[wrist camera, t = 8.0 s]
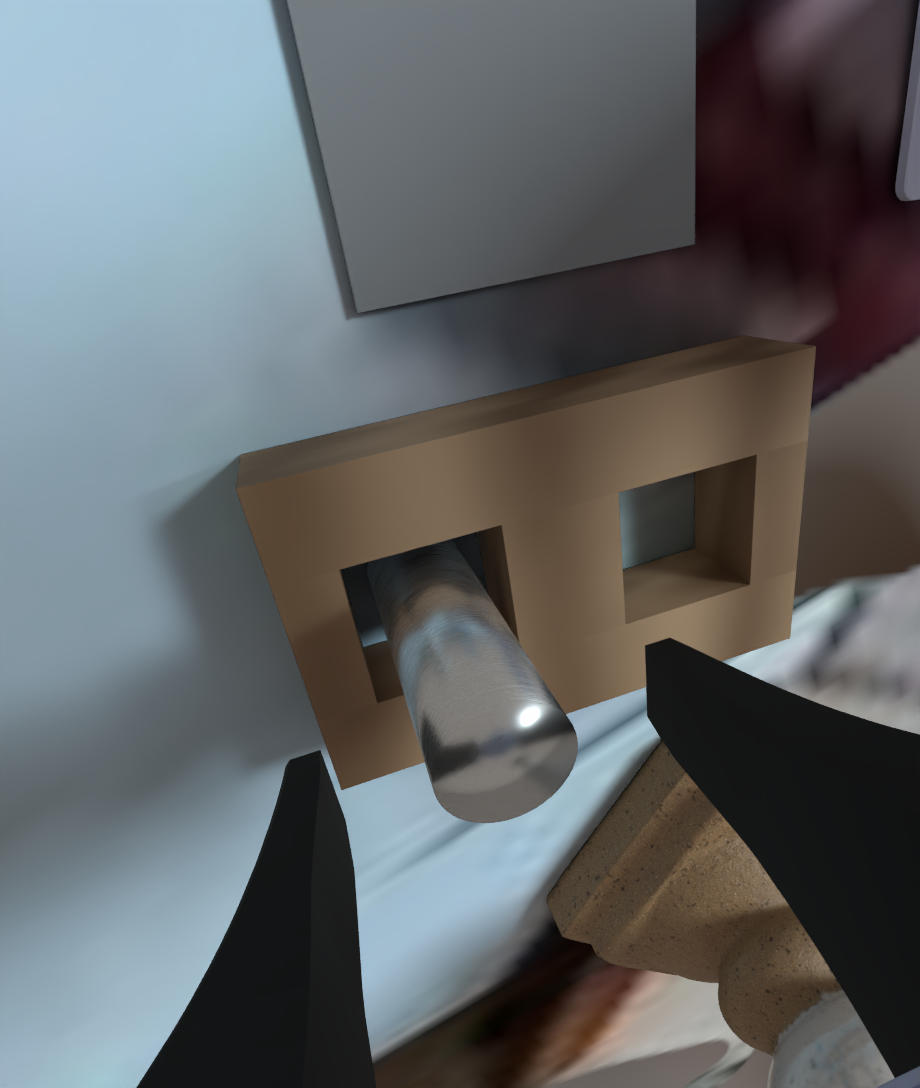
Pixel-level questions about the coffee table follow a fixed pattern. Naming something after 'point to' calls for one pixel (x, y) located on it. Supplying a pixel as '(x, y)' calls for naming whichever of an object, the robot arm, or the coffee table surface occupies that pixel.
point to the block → (544, 527)
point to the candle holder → (712, 928)
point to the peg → (470, 688)
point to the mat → (499, 136)
